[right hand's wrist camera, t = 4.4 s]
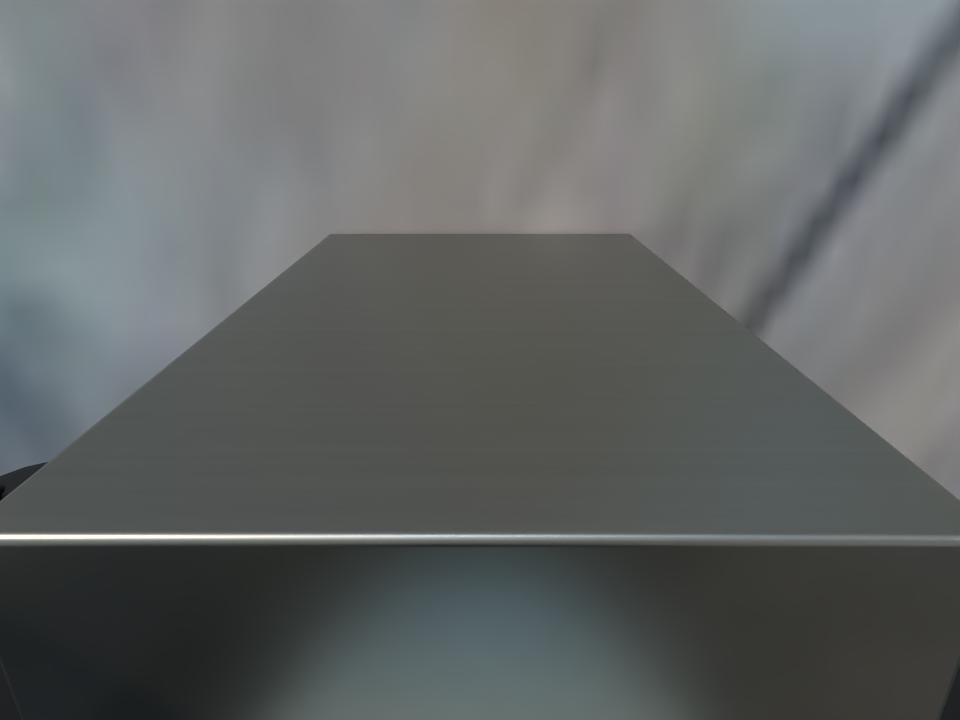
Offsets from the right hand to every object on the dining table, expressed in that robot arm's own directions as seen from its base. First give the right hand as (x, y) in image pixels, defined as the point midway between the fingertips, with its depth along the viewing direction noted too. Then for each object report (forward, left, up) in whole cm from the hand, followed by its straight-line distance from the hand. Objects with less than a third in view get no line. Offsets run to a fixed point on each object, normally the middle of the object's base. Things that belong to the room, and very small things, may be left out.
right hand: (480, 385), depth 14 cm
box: (0, +7, -1) cm, 7 cm away
